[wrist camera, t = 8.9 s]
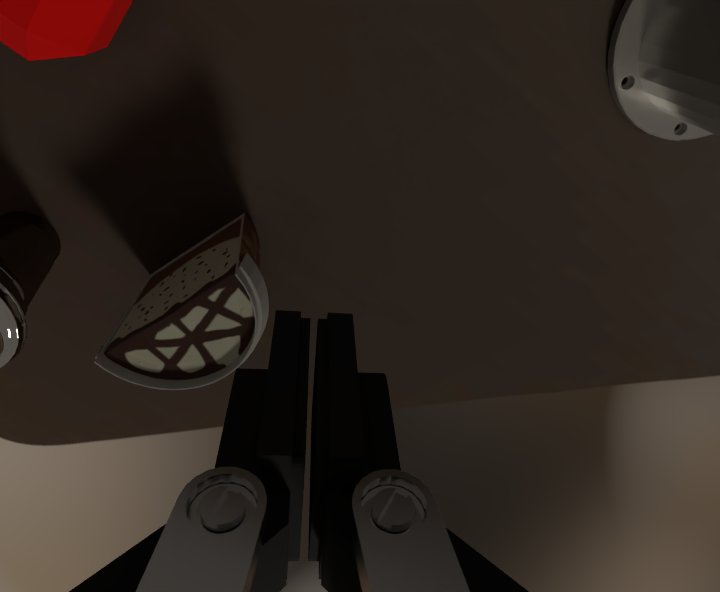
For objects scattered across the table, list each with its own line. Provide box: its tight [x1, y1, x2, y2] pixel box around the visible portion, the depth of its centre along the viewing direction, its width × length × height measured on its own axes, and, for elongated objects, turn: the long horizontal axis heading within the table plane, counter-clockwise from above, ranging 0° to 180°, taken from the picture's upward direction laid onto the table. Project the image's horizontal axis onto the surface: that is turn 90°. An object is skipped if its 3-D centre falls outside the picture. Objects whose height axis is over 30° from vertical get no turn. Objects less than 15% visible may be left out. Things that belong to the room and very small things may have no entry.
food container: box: [94, 213, 269, 390], centre depth 37 cm, size 12×6×10 cm, turn 122°
